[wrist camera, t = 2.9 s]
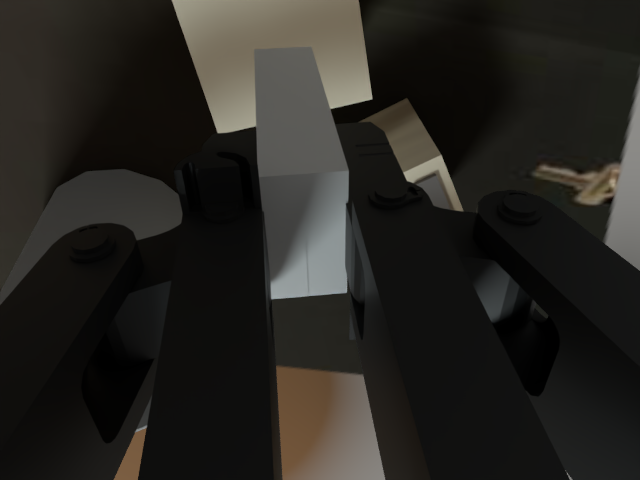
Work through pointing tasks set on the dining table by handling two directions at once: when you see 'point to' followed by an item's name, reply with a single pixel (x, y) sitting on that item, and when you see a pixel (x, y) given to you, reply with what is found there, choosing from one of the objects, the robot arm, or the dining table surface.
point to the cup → (100, 217)
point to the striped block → (417, 153)
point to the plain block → (266, 33)
